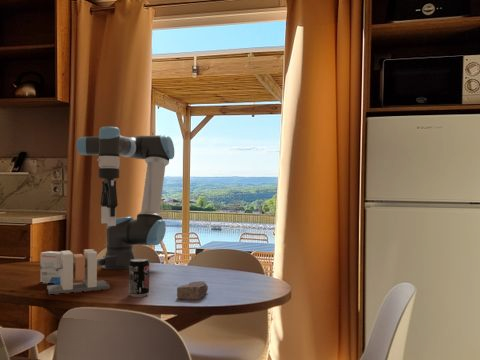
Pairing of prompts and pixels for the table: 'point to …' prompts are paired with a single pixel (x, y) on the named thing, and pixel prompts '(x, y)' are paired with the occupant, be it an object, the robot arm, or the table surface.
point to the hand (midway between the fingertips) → (108, 224)
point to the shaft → (100, 262)
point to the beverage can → (138, 277)
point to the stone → (192, 290)
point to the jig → (67, 275)
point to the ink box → (50, 267)
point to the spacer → (79, 267)
